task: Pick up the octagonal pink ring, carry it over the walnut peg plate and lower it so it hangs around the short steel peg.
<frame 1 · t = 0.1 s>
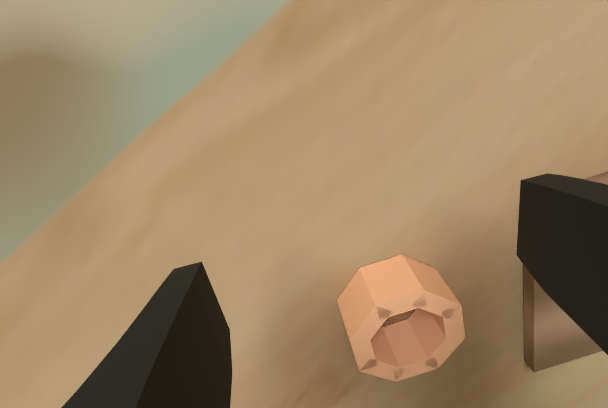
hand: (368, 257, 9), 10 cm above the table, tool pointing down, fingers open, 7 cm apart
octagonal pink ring: (389, 299, 23), on the table
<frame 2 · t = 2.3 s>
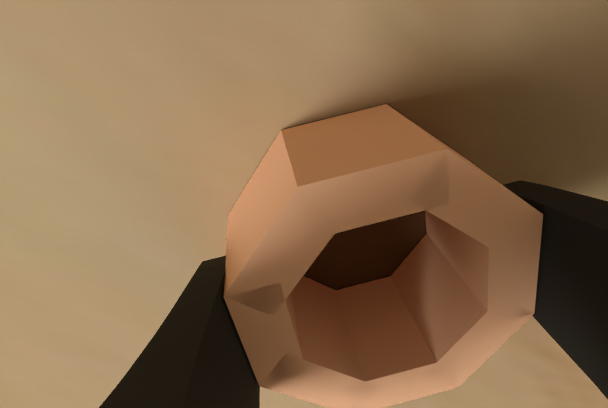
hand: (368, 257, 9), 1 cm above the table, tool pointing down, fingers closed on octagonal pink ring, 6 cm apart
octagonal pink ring: (353, 226, 10), on the table, touching gripper
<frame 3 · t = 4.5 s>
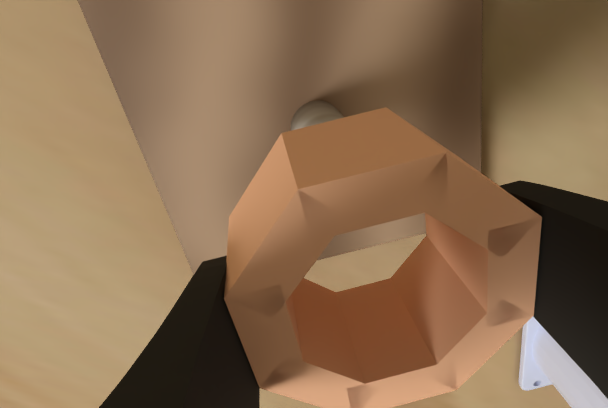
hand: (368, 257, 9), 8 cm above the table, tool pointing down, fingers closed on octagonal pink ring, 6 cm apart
peg plate: (312, 120, 16), on the table
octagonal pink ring: (353, 228, 10), point 7 cm above the table, touching gripper
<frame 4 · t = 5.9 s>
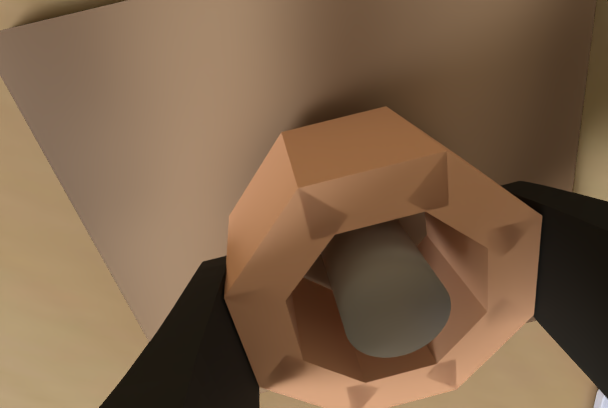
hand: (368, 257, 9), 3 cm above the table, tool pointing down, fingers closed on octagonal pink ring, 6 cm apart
peg plate: (339, 197, 12), on the table
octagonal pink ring: (353, 227, 10), point 2 cm above the table, touching gripper
when the fingers open (3 cm above the table, at t = 6.9 s): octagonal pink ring stays where it is, resting on peg plate.
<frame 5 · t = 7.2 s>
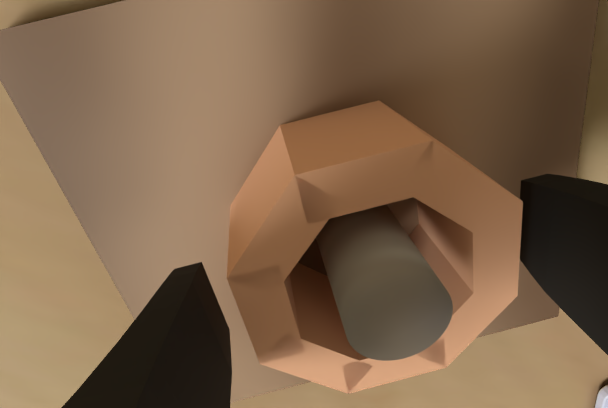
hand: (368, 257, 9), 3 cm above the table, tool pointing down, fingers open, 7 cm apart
peg plate: (339, 198, 12), on the table
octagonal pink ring: (348, 216, 11), point 1 cm above the table, touching peg plate
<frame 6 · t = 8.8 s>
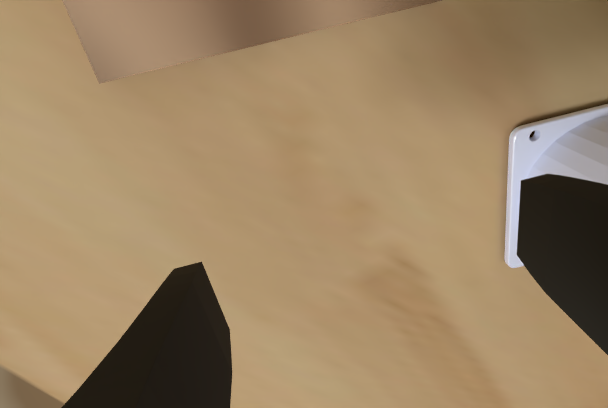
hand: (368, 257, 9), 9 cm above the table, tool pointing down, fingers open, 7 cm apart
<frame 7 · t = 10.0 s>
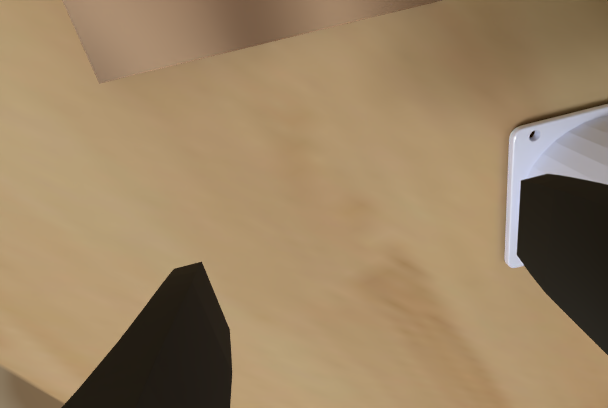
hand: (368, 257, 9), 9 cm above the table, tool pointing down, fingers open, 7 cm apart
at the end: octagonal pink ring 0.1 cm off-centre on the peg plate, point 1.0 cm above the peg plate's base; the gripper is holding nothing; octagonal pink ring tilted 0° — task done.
